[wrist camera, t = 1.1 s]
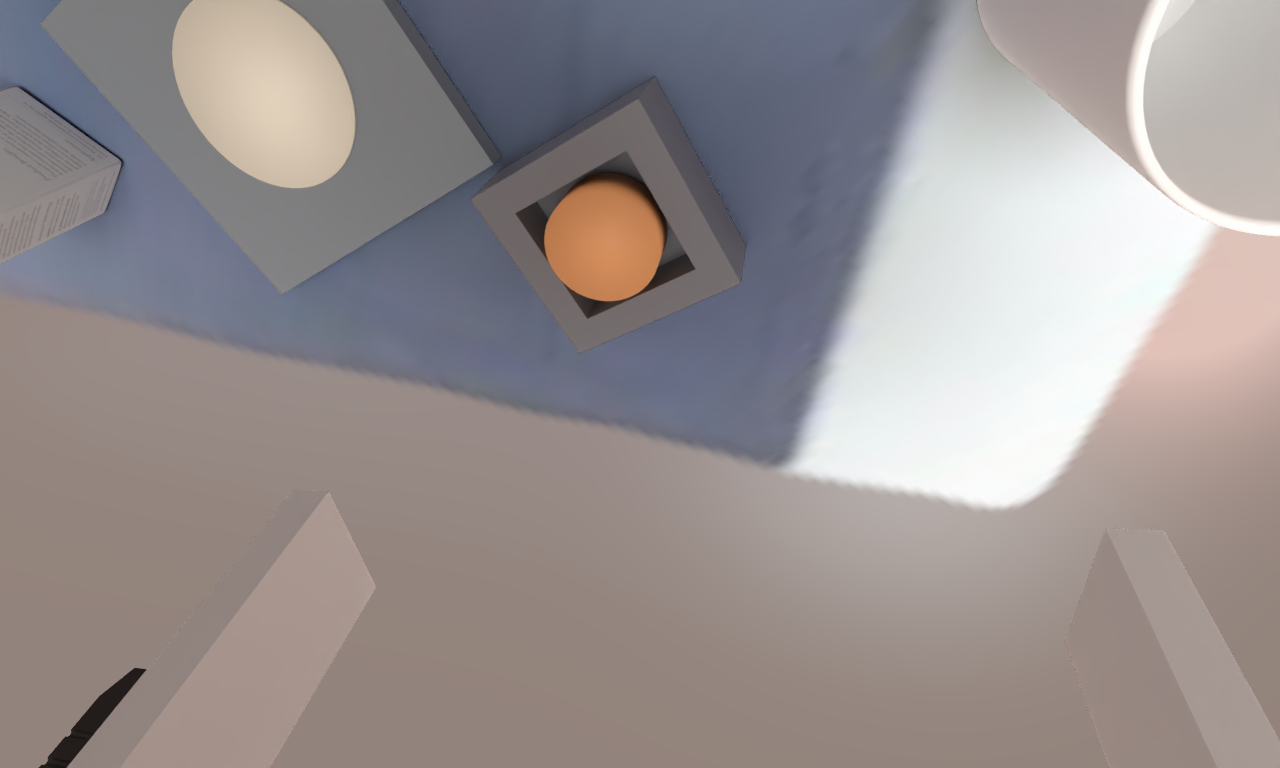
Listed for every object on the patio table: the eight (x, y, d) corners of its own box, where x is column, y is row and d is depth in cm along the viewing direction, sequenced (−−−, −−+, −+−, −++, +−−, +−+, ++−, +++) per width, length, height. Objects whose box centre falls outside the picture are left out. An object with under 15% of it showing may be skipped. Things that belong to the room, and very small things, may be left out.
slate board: (61, 20, 35) (36, 25, 34) (262, -204, 28) (239, -207, 27) (293, 285, 42) (279, 296, 40) (502, 156, 35) (491, 165, 34)
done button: (536, 205, 33) (521, 224, 31) (630, 152, 31) (619, 169, 29) (596, 294, 35) (585, 317, 33) (687, 251, 33) (681, 273, 31)
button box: (500, 170, 35) (469, 199, 32) (654, 76, 31) (638, 98, 28) (597, 314, 39) (579, 353, 36) (746, 246, 35) (740, 283, 32)
